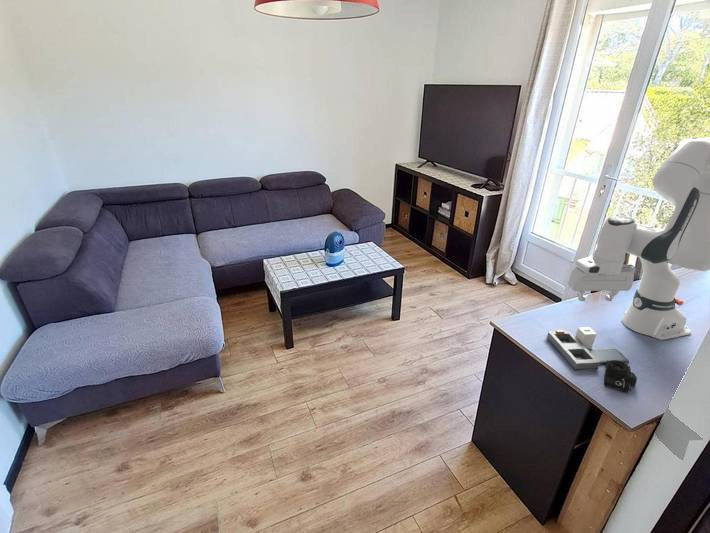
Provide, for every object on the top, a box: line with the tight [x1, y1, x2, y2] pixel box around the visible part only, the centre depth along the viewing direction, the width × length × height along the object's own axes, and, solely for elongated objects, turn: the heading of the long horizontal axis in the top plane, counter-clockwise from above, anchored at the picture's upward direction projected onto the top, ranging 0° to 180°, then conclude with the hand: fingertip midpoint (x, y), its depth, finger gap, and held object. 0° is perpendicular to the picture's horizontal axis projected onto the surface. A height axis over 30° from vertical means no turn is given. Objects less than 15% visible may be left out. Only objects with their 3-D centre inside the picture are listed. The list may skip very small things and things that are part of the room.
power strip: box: [546, 329, 601, 371], centre depth 131 cm, size 8×18×4 cm, turn 3°
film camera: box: [603, 360, 638, 393], centre depth 118 cm, size 13×8×10 cm
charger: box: [574, 326, 597, 350], centre depth 134 cm, size 4×4×7 cm
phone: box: [587, 348, 630, 366], centre depth 128 cm, size 13×6×1 cm, turn 93°
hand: (594, 300), depth 128 cm, fingers open, 8 cm apart
